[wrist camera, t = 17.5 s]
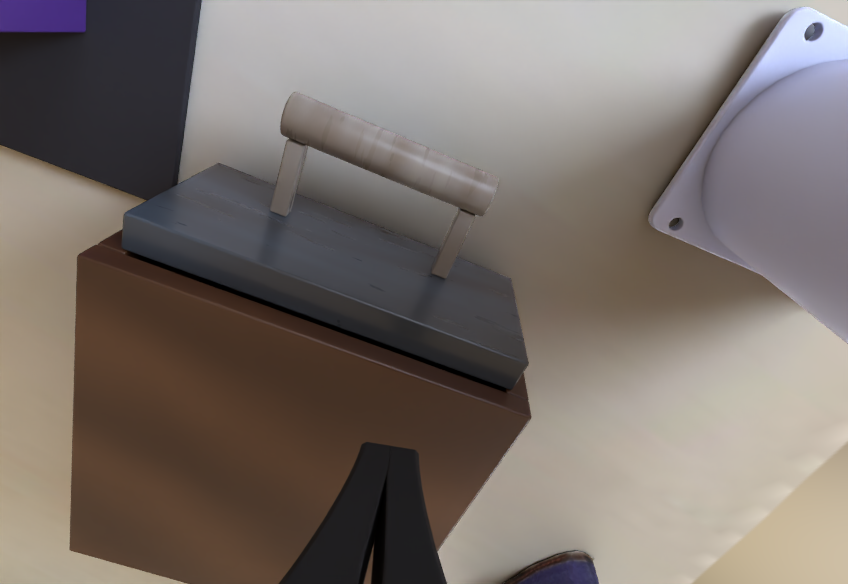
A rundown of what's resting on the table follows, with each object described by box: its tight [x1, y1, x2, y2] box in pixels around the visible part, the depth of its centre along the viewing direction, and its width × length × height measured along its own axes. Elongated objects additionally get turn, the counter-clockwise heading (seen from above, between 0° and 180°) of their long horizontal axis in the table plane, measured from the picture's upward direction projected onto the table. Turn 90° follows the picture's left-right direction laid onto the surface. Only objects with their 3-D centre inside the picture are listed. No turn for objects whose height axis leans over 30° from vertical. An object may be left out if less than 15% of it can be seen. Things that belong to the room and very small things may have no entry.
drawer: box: [121, 92, 529, 390], centre depth 18 cm, size 18×12×6 cm
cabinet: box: [70, 229, 531, 584], centre depth 20 cm, size 15×14×8 cm
